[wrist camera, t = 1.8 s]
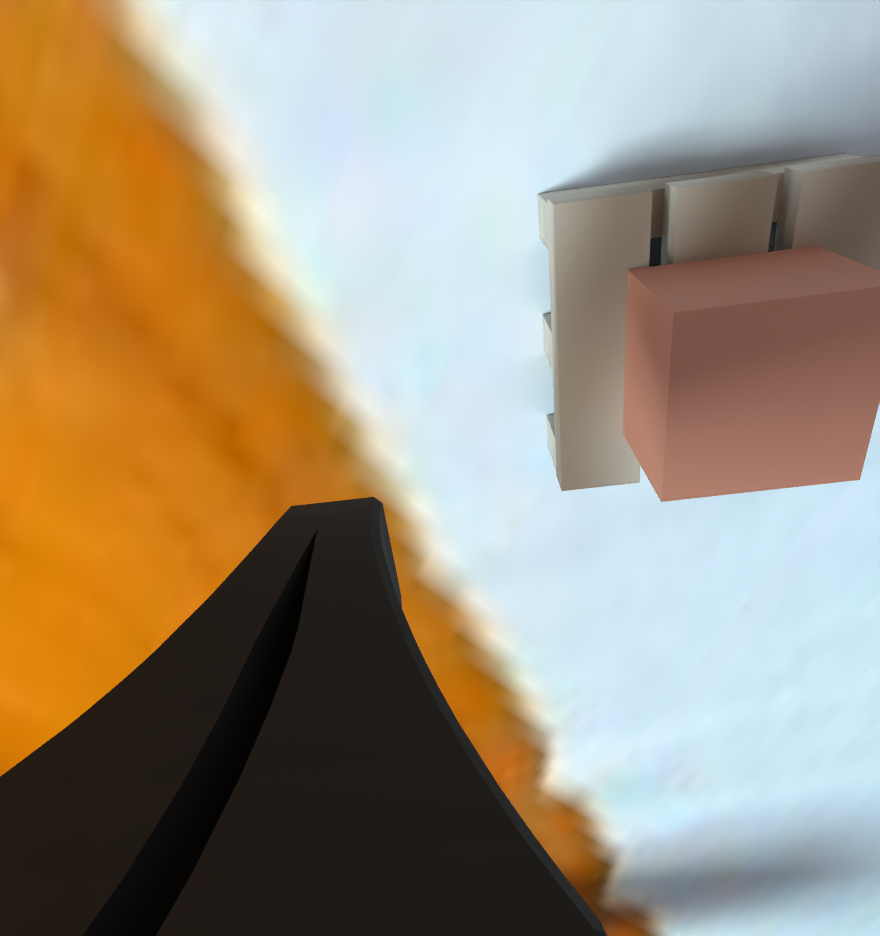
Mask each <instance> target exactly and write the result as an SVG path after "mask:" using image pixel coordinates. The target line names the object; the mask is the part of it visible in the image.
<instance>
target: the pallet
mask: <svg viewBox="0 0 880 936" xmlns="http://www.w3.org/2000/svg"><path fill="white" fill-rule="evenodd" d="M538 216H539V238H540V239H541V241H542V242H543V244H544V245H545V246H546V248H547V249H548V250H549V267H550V297H551V313H548V314H542V315H543V340H544V352H545V355H546V357H547V359H548V361H549V364H550V366H551V368H552V371H553V387H554V414H550V415H547V439H548V448H549V451H550V454H551V457H552V460H553V463H554V466H555V469H556V475H557V478H558V481H559V484H560V487H561V490H562V491H566V490H575V489H584V488H593V487H602V486H612V485H621V484H630V483H639V481H640V463H639V462H638V460H637V458H636V456H635V454H634V453H633V451H632V449H631V447H630V446H629V444H628V442H627V440H626V439H625V437H624V435H623V407H624V371H625V335H626V299H627V270H629V269H637V268H644V267H649V259H650V238H655V237H662V248H661V265H668V264H676V263H684V262H692V261H700V260H707V259H715V258H723V257H731V256H739V255H747V254H755V253H763V252H768V248H769V240H770V233H771V226H772V223H773V222H777V226H776V233H775V241H774V248H773V251H778V250H786V249H794V248H802V247H810V246H820V247H822V248H825V249H827V250H830V251H832V252H835V253H837V254H839V255H842V256H844V257H847V258H849V259H852V260H854V261H857V262H859V263H861V264H864V265H866V266H869V267H871V268H874V269H876V270H878V271H880V155H874V156H866V157H862V156H856V155H850V154H844V153H842V154H834V155H827V156H819V157H812V158H804V159H797V160H789V161H781V162H774V163H766V164H759V165H751V166H744V167H736V168H729V169H721V170H713V171H706V172H698V173H691V174H683V175H676V176H668V177H660V178H653V179H645V180H638V181H630V182H623V183H615V184H608V185H600V186H592V187H585V188H577V189H570V190H562V191H555V192H547V193H539V194H538Z"/></svg>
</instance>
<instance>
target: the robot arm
mask: <svg viewBox="0 0 880 936" xmlns="http://www.w3.org/2000/svg"><path fill="white" fill-rule="evenodd" d="M0 936H607V935H606V933H605V931H604V929H603V926H602V924H601V923H600V921H599V920H598V918H597V917H596V916H595V914H594V913H593V912H592V910H591V909H590V908H589V907H588V905H587V904H586V903H585V901H584V900H583V899H582V898H581V896H580V895H579V894H578V893H577V891H576V890H575V889H574V888H573V886H572V885H571V884H570V883H569V881H568V880H567V879H566V877H565V876H564V875H563V874H562V872H561V871H560V870H559V868H558V867H557V866H556V864H555V863H554V862H553V860H552V859H551V858H550V856H549V855H548V854H547V852H546V851H545V850H544V848H543V847H542V846H541V844H540V843H539V842H538V840H537V839H536V838H535V836H534V835H533V834H532V832H531V831H530V829H529V828H528V827H527V825H526V824H525V822H524V821H523V820H522V818H521V817H520V815H519V814H518V812H517V811H516V810H515V808H514V807H513V805H512V804H511V803H510V801H509V800H508V798H507V797H506V795H505V794H504V793H503V791H502V790H501V788H500V787H499V785H498V784H497V782H496V781H495V779H494V778H493V776H492V774H491V773H490V771H489V770H488V768H487V767H486V765H485V763H484V762H483V760H482V759H481V757H480V756H479V754H478V752H477V751H476V749H475V748H474V746H473V745H472V743H471V741H470V740H469V738H468V737H467V735H466V734H465V732H464V730H463V729H462V727H461V726H460V724H459V723H458V721H457V719H456V717H455V716H454V714H453V712H452V710H451V709H450V707H449V705H448V703H447V701H446V700H445V698H444V696H443V694H442V693H441V691H440V689H439V687H438V685H437V683H436V681H435V679H434V677H433V676H432V674H431V672H430V670H429V668H428V666H427V664H426V662H425V660H424V658H423V656H422V654H421V652H420V650H419V647H418V645H417V643H416V641H415V639H414V636H413V634H412V632H411V630H410V627H409V625H408V622H407V620H406V618H405V615H404V613H403V610H402V603H401V593H400V588H399V583H398V578H397V573H396V568H395V563H394V558H393V553H392V548H391V543H390V538H389V533H388V528H387V523H386V519H385V514H384V509H383V504H382V502H380V501H379V500H377V499H376V498H374V497H369V498H360V499H351V500H342V501H333V502H324V503H316V504H307V505H298V506H291V507H290V508H289V509H288V510H287V511H286V512H285V513H284V515H283V516H282V517H281V518H280V519H279V520H278V521H277V522H276V523H275V525H274V526H273V527H272V528H271V529H270V530H269V531H268V533H267V534H266V535H265V536H264V537H263V538H262V539H261V541H260V542H259V543H258V544H257V545H256V546H255V547H254V548H253V550H252V551H251V552H250V553H249V554H248V555H247V556H246V557H245V559H244V560H243V561H242V562H241V563H240V564H239V565H238V566H237V567H236V568H235V570H234V571H233V572H232V573H231V574H230V575H229V576H228V577H227V578H226V579H225V581H224V582H223V583H222V584H221V585H220V586H219V587H218V588H217V589H216V590H215V591H214V593H213V594H212V595H211V596H210V597H209V598H208V599H207V600H206V601H205V602H204V603H203V604H202V605H201V606H200V607H199V608H198V609H197V610H196V611H195V612H194V613H193V614H192V615H191V616H190V617H189V618H188V619H187V620H186V621H185V622H184V623H183V624H182V625H181V626H180V627H179V628H178V629H177V630H176V631H175V632H174V633H173V634H172V635H171V636H170V637H169V638H168V639H167V640H166V641H165V642H164V643H163V644H162V645H161V646H160V647H159V648H158V649H157V650H156V651H155V652H153V653H152V654H151V655H150V656H149V657H148V658H147V659H146V660H145V661H144V662H143V663H142V664H140V665H139V666H138V667H137V668H136V669H135V670H134V671H133V672H132V673H130V674H129V675H128V676H127V677H126V678H125V679H124V680H123V681H121V682H120V683H119V684H118V685H117V686H115V687H114V688H113V689H112V690H111V691H110V692H108V693H107V694H106V695H105V696H104V697H102V698H101V699H100V700H99V701H98V702H97V703H95V704H94V705H93V706H92V707H91V708H89V709H88V710H87V711H86V712H85V713H83V714H82V715H81V716H80V717H79V718H77V719H76V720H75V721H74V722H72V723H71V724H70V725H69V726H67V727H66V728H65V729H63V730H62V731H61V732H59V733H58V734H57V735H55V736H54V737H53V738H51V739H50V740H49V741H47V742H46V743H45V744H43V745H42V746H41V747H39V748H38V749H37V750H35V751H34V752H33V753H31V754H30V755H29V756H27V757H26V758H25V759H23V760H22V761H21V762H19V763H18V764H17V765H15V766H14V767H13V768H11V769H10V770H9V771H7V772H6V773H5V774H3V775H2V776H1V777H0Z"/></svg>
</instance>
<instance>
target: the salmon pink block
mask: <svg viewBox="0 0 880 936" xmlns="http://www.w3.org/2000/svg"><path fill="white" fill-rule="evenodd" d="M879 401H880V271H878V270H876V269H874V268H871V267H869V266H866V265H864V264H861V263H859V262H857V261H854V260H852V259H849V258H847V257H844V256H842V255H839V254H837V253H835V252H832V251H830V250H827V249H825V248H822V247H820V246H810V247H802V248H794V249H786V250H778V251H770V252H763V253H755V254H747V255H739V256H731V257H723V258H715V259H707V260H700V261H692V262H684V263H676V264H668V265H660V266H652V267H644V268H637V269H629V270H627V299H626V335H625V371H624V407H623V435H624V437H625V439H626V440H627V442H628V444H629V446H630V447H631V449H632V451H633V453H634V454H635V456H636V458H637V460H638V462H639V463H640V465H641V467H642V469H643V470H644V472H645V474H646V476H647V477H648V479H649V481H650V483H651V485H652V486H653V488H654V490H655V492H656V493H657V495H658V497H659V499H660V500H661V502H663V501H672V500H681V499H690V498H699V497H708V496H717V495H726V494H735V493H744V492H753V491H762V490H771V489H780V488H790V487H799V486H808V485H817V484H826V483H835V482H844V481H853V480H860V477H861V473H862V469H863V465H864V461H865V457H866V453H867V449H868V445H869V441H870V437H871V433H872V429H873V425H874V421H875V417H876V413H877V409H878V405H879Z"/></svg>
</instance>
